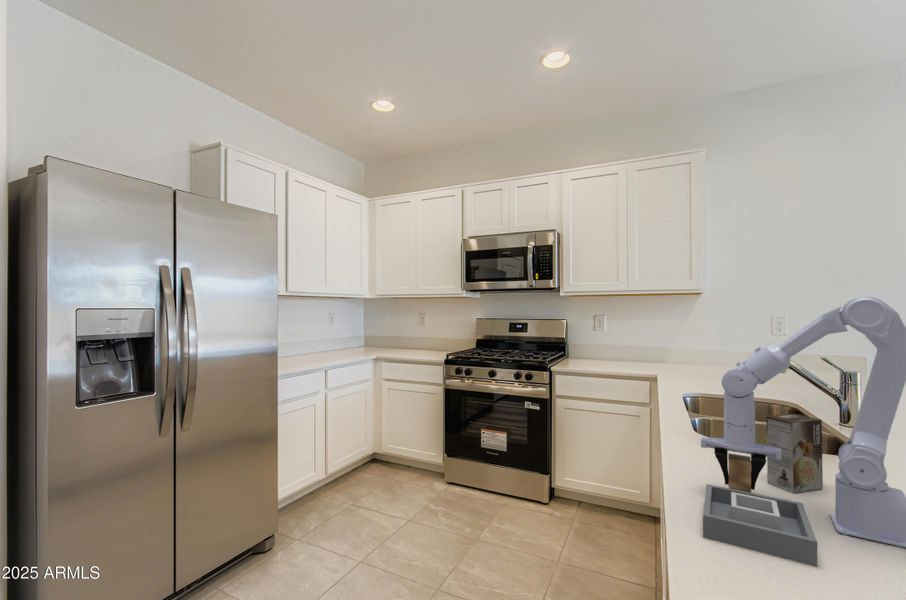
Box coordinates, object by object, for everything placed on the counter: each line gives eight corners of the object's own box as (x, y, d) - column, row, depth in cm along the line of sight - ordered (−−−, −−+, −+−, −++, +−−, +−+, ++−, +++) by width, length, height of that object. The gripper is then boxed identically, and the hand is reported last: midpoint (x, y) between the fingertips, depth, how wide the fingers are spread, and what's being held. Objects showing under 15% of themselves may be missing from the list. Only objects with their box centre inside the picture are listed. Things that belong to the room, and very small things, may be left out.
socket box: (802, 523, 82) (802, 497, 82) (817, 566, 69) (817, 535, 69) (706, 502, 91) (706, 479, 91) (703, 537, 78) (703, 509, 78)
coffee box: (794, 478, 104) (794, 412, 104) (823, 489, 97) (823, 419, 98) (766, 482, 101) (765, 415, 101) (793, 494, 95) (793, 422, 95)
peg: (750, 497, 93) (750, 456, 93) (751, 504, 90) (750, 462, 90) (728, 493, 95) (728, 453, 96) (728, 500, 92) (728, 458, 92)
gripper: (778, 424, 92) (779, 486, 92) (701, 414, 100) (702, 472, 100) (782, 432, 86) (782, 499, 86) (700, 421, 94) (700, 482, 94)
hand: (739, 485), depth 93 cm, fingers closed on peg, 4 cm apart
